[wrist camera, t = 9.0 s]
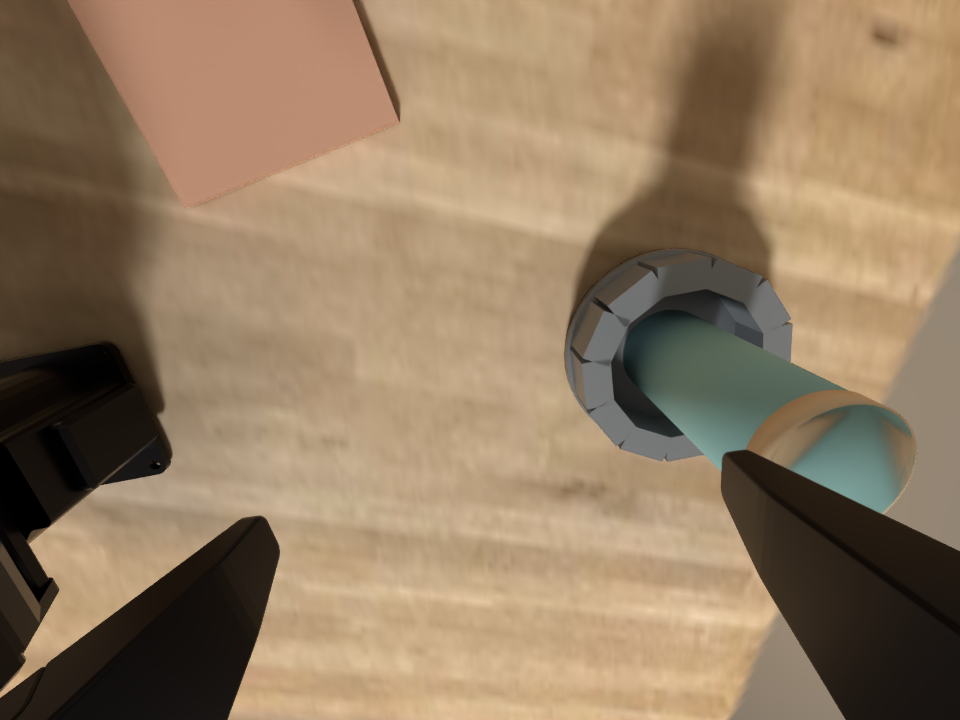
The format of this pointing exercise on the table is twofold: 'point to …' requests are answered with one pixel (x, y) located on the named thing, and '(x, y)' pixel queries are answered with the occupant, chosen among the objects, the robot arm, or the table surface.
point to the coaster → (238, 83)
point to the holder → (634, 296)
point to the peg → (769, 408)
